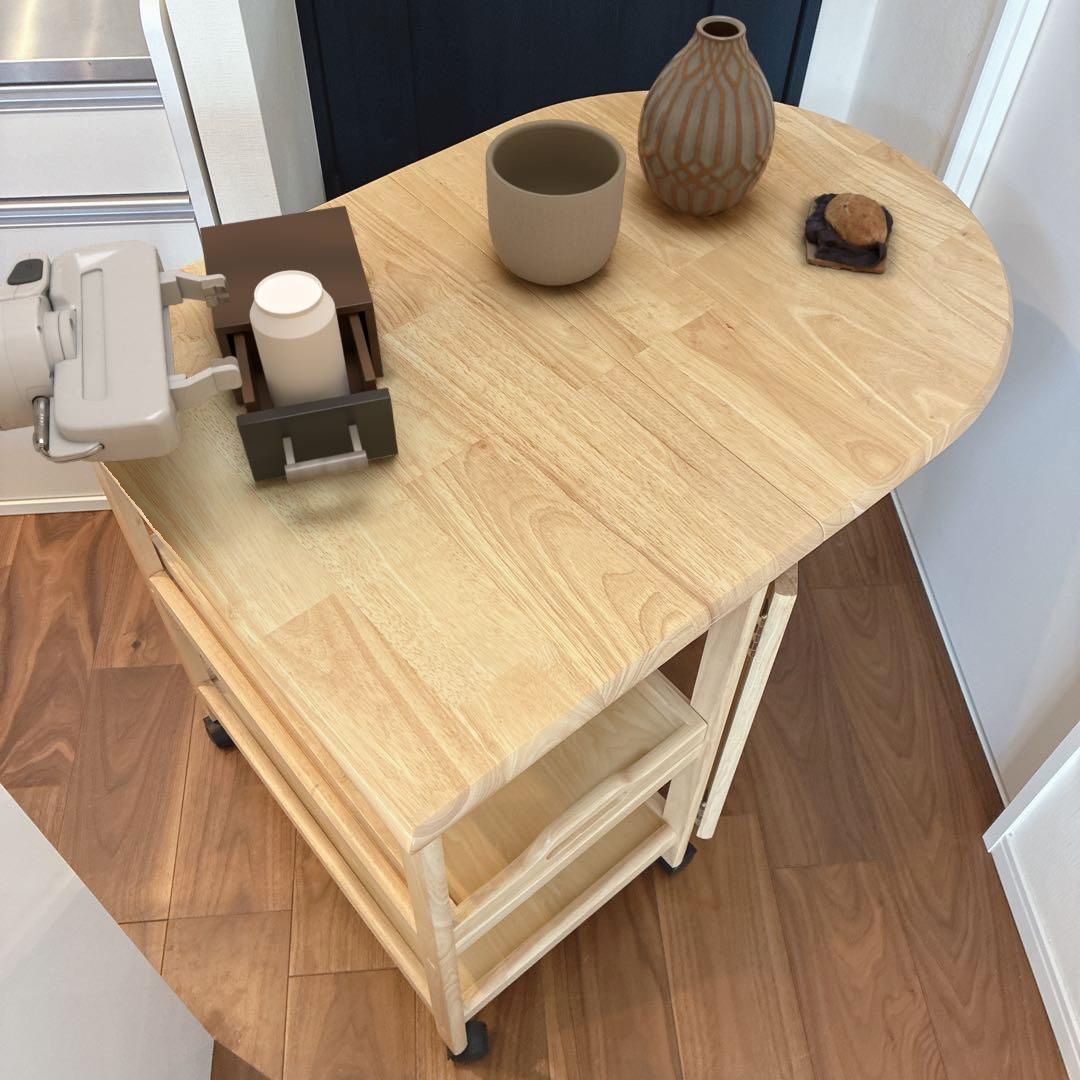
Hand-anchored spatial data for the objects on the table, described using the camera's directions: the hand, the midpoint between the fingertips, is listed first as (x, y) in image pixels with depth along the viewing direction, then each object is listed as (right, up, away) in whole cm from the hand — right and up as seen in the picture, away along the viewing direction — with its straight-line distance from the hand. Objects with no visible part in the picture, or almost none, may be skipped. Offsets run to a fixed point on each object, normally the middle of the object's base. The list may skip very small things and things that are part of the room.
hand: (233, 328), depth 77 cm
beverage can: (+4, -5, +9) cm, 11 cm away
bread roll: (+53, +14, +27) cm, 61 cm away
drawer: (+4, -7, +9) cm, 12 cm away
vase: (+38, +20, +31) cm, 53 cm away
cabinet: (+1, +3, +17) cm, 17 cm away
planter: (+24, +11, +25) cm, 36 cm away
